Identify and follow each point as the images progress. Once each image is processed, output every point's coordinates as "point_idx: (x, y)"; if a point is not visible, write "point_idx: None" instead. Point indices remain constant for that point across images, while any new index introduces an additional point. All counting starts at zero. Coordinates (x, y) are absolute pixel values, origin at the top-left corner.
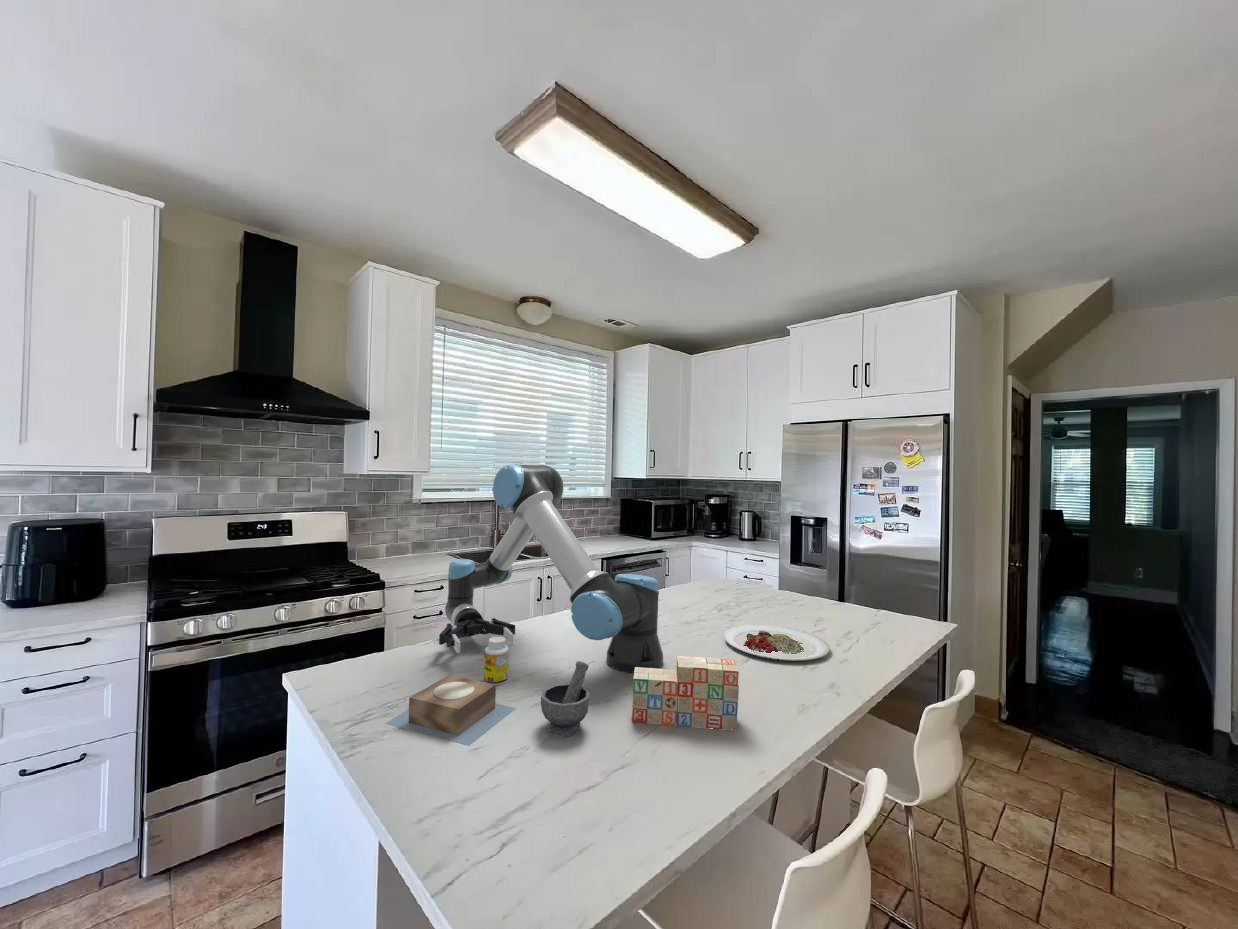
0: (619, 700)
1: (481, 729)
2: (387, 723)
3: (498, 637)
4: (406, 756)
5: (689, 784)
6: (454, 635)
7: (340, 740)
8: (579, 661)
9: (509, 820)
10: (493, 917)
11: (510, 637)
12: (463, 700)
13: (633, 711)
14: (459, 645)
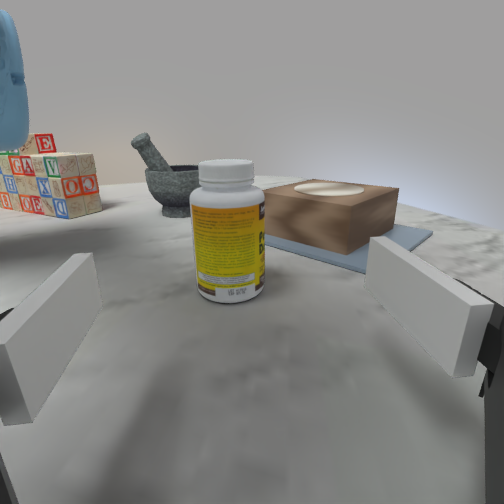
0: (61, 228)
1: None
2: (428, 230)
3: (217, 163)
4: None
5: (140, 187)
6: (457, 288)
7: (476, 226)
8: (143, 133)
9: (269, 186)
10: (283, 176)
11: (94, 268)
12: (309, 182)
13: (99, 196)
14: (372, 252)
